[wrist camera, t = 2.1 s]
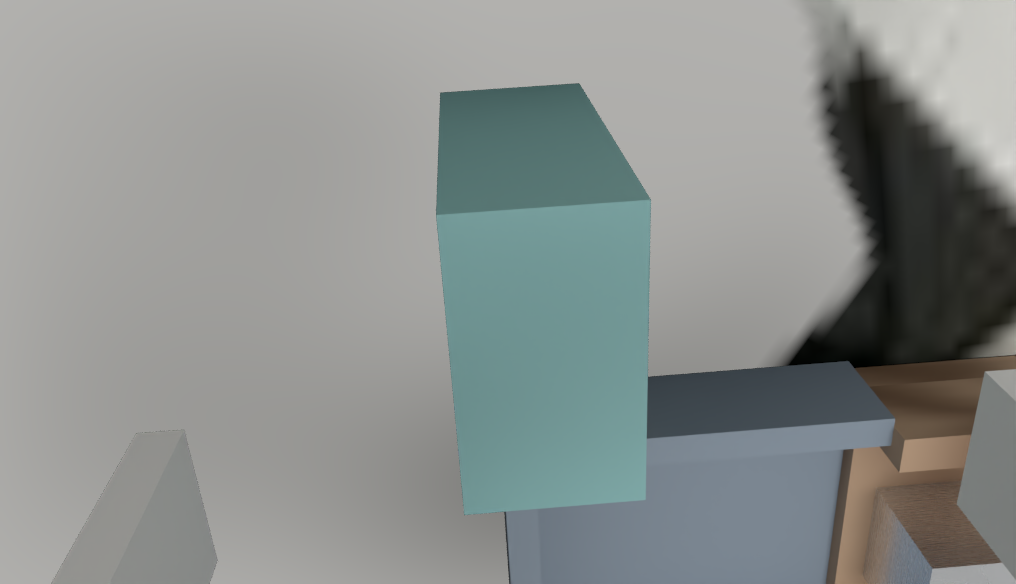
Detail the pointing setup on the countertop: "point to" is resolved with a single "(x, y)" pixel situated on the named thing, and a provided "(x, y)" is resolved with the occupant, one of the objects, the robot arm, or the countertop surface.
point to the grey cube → (927, 539)
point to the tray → (717, 485)
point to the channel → (906, 446)
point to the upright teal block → (543, 299)
